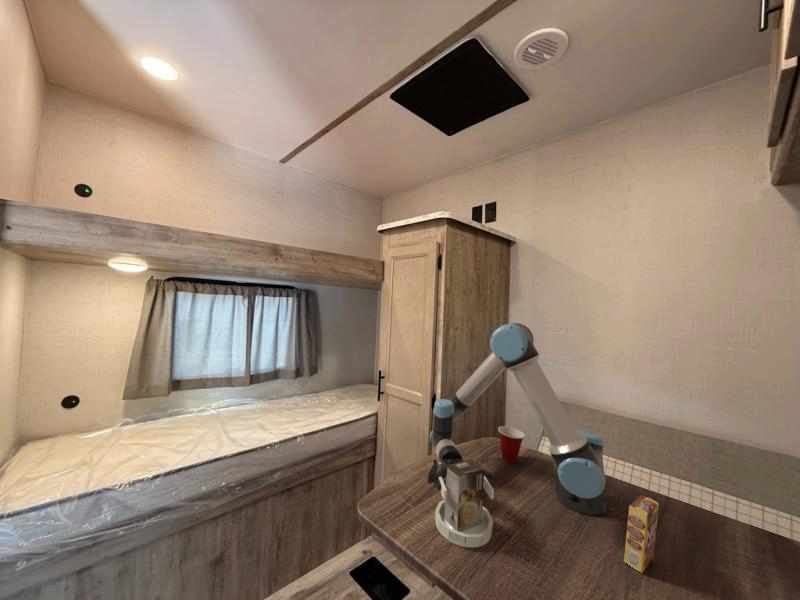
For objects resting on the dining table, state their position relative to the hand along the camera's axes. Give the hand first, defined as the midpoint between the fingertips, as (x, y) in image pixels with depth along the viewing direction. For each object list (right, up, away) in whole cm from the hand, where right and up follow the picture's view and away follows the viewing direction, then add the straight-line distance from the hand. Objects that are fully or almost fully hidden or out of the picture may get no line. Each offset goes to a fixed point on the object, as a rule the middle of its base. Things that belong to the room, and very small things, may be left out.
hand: (469, 495), depth 85 cm
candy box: (+43, -14, -6) cm, 46 cm away
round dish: (-1, -11, +3) cm, 11 cm away
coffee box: (-1, -10, +3) cm, 11 cm away
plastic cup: (+27, -13, +43) cm, 52 cm away
